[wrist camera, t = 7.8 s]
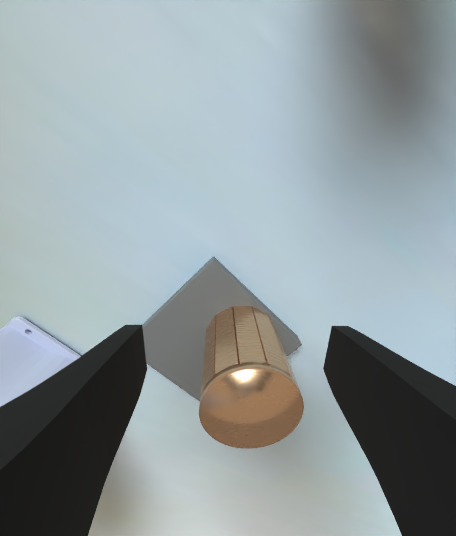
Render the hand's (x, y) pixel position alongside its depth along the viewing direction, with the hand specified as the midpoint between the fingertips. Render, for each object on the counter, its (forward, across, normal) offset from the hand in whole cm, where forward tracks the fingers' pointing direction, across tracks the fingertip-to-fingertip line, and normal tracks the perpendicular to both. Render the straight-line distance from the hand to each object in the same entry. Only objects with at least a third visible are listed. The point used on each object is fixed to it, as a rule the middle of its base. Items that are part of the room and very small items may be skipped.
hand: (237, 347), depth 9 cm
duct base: (+9, +1, +6) cm, 11 cm away
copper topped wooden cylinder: (+8, -1, +5) cm, 10 cm away
